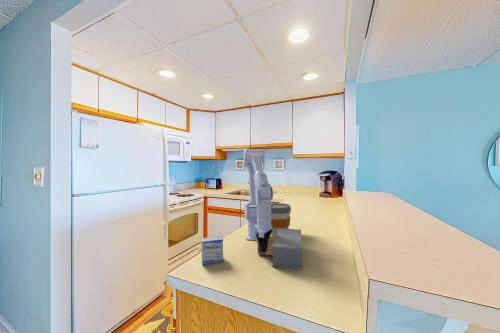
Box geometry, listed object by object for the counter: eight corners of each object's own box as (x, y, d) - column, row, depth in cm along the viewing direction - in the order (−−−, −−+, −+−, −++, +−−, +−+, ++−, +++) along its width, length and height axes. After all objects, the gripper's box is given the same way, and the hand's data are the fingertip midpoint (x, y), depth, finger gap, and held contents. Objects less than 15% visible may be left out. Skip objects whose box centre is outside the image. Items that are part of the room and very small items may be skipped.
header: (278, 245, 90) (278, 228, 90) (301, 246, 88) (300, 229, 88) (272, 267, 71) (272, 245, 71) (301, 270, 69) (301, 248, 69)
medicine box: (202, 265, 73) (201, 241, 73) (201, 260, 78) (201, 237, 77) (223, 262, 75) (223, 239, 75) (222, 257, 80) (221, 235, 80)
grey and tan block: (259, 249, 84) (259, 235, 84) (293, 252, 81) (293, 237, 81) (257, 253, 80) (257, 239, 80) (293, 257, 77) (293, 241, 77)
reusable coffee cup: (290, 230, 110) (289, 203, 110) (292, 239, 97) (292, 208, 97) (267, 230, 111) (266, 203, 111) (266, 238, 99) (266, 208, 99)
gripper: (258, 211, 90) (258, 241, 90) (250, 220, 76) (251, 256, 76) (273, 211, 88) (274, 242, 88) (269, 220, 74) (269, 257, 74)
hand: (264, 248), depth 82 cm, fingers closed on grey and tan block, 4 cm apart
